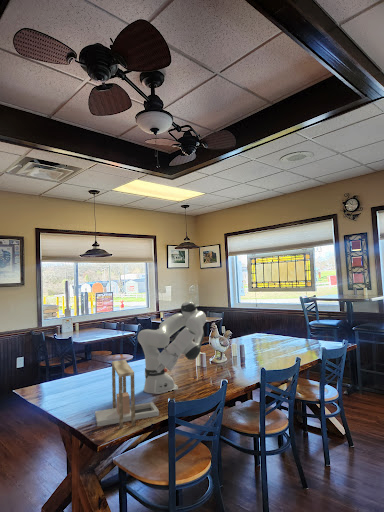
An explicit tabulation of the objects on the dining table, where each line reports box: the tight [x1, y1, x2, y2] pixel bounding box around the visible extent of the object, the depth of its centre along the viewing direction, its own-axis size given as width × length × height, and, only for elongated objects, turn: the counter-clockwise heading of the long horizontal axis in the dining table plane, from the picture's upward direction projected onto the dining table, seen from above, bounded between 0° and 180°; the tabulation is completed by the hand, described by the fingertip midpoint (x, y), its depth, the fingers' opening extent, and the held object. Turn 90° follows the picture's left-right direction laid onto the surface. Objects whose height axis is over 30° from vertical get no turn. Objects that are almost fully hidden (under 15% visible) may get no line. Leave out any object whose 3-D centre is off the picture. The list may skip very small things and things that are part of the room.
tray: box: [94, 401, 160, 427], centre depth 185 cm, size 32×14×2 cm, turn 110°
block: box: [116, 391, 131, 415], centre depth 185 cm, size 6×6×9 cm
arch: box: [111, 359, 136, 429], centre depth 185 cm, size 8×28×26 cm, turn 20°
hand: (157, 371), depth 193 cm, fingers closed
